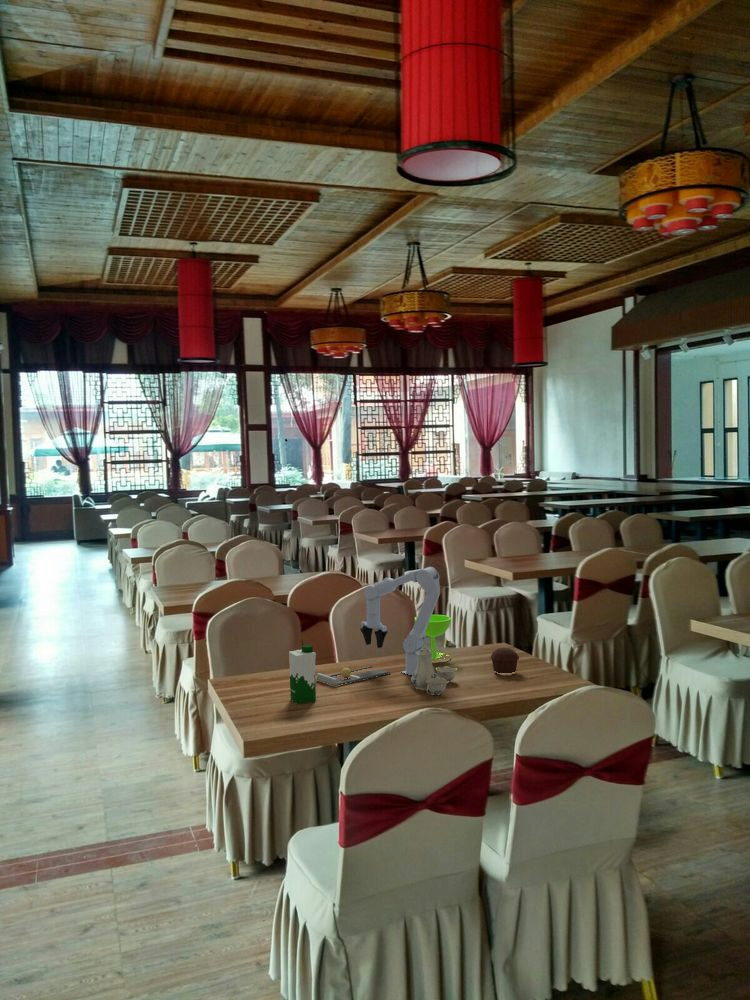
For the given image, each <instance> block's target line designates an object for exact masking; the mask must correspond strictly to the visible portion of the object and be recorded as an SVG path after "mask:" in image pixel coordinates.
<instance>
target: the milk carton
mask: <svg viewBox="0 0 750 1000" xmlns="http://www.w3.org/2000/svg"><path fill="white" fill-rule="evenodd" d="M316 657H317V653H316V652H315V651H314V646H313V645H312V644H303V645H302V646H301V649H295V650H291V651H288V660H289V662H288V663H289V689H290V690H289V692H290V700H291V701H293V702H294V703H295V704H297V705H303V703H304V704H308V703H309V702H310V703H315V702H314V701H316V702H317V694H316V693H317V691H316V690H317V689H316V687H317V684H316V682H317V680H316Z"/></svg>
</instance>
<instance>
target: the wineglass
mask: <svg viewBox="0 0 750 1000" xmlns="http://www.w3.org/2000/svg"><path fill="white" fill-rule="evenodd" d="M417 617H418V615H417V616H415V617H414V623H415V622H416V619H417ZM451 623H452V619H451V617H450V616H448V615H445V614H444V615H443V614H432V615H431V618H430V620H429V623H428V625H427V628H426V630H425V633H426V635H425V636H427V637H430V651H431V652H433V654H432V659H435V660H433V661H436V659H437V658H440V657H442V656H441V655H443V654H445V653H443V652H437V650H436V637H439V636H442V635H443V634H445V633H446V632H447V630H448V629H449V628H450V625H451ZM438 653H439V654H438ZM446 656H450V655H449V654H447V655H446ZM444 659H445V658H444ZM439 660H441V659H439Z"/></svg>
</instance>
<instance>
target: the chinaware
mask: <svg viewBox="0 0 750 1000" xmlns="http://www.w3.org/2000/svg"><path fill="white" fill-rule="evenodd" d="M416 654H417V658H418V662H417V667H416V670H415V672H414V674H413V676H411V677H410V682H411V684H413V685H414V686H415V688H417V689H416V690H418V689H420V690H419V691H426V693H427V694H428V695H431V696H433V694H434V695H438V694H442V693H443V692H445V690H446V687H447V684H449V683H448V681H450V682H452V680H454V678H455V677H456V674H457V671H458V668H457V667H452V666H450V665H449V666H443V667H436V668H435V669H434V665H433V664H432V654H433V652H431V650H429V649H428V648H427V647H426V645H424V646H423V647H422V649H421V650H420V651H419V652H416ZM436 673H437V674H436ZM415 688H414V689H415Z"/></svg>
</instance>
